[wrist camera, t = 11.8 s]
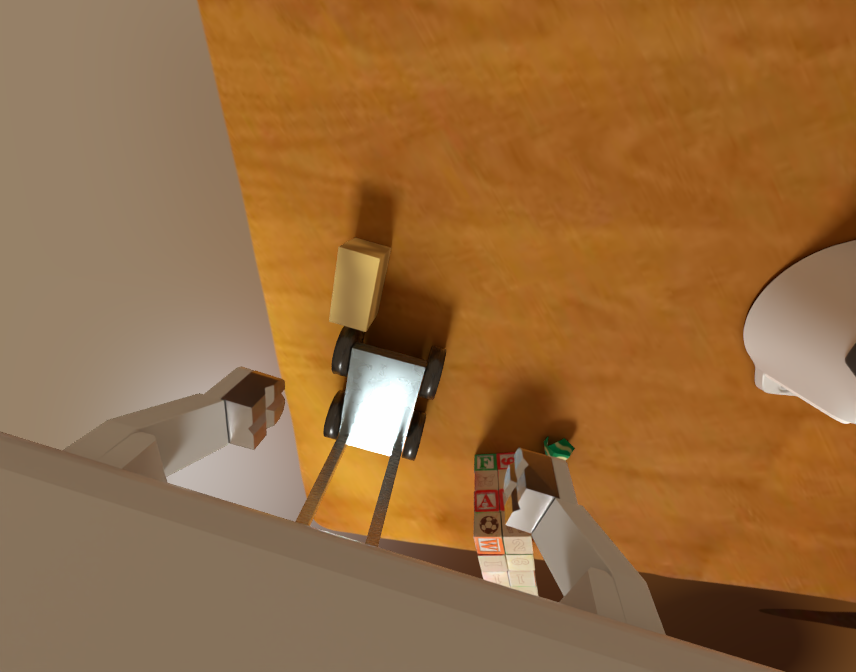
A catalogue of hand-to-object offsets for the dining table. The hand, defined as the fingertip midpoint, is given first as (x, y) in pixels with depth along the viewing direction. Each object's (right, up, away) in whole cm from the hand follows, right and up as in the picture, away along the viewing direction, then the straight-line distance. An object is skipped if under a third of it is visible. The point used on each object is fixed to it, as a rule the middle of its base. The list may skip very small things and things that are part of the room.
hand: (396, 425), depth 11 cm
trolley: (-4, -3, +32) cm, 32 cm away
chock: (-6, +10, +26) cm, 28 cm away
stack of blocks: (+13, -23, +40) cm, 48 cm away
